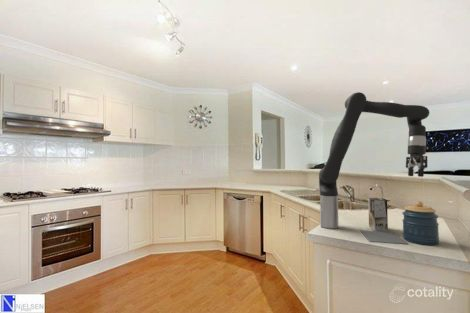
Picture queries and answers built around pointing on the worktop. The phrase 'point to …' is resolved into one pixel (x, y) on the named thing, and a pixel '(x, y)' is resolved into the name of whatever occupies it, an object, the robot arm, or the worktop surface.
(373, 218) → the coffee box
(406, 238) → the canister
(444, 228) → the worktop surface
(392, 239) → the charcoal mat
